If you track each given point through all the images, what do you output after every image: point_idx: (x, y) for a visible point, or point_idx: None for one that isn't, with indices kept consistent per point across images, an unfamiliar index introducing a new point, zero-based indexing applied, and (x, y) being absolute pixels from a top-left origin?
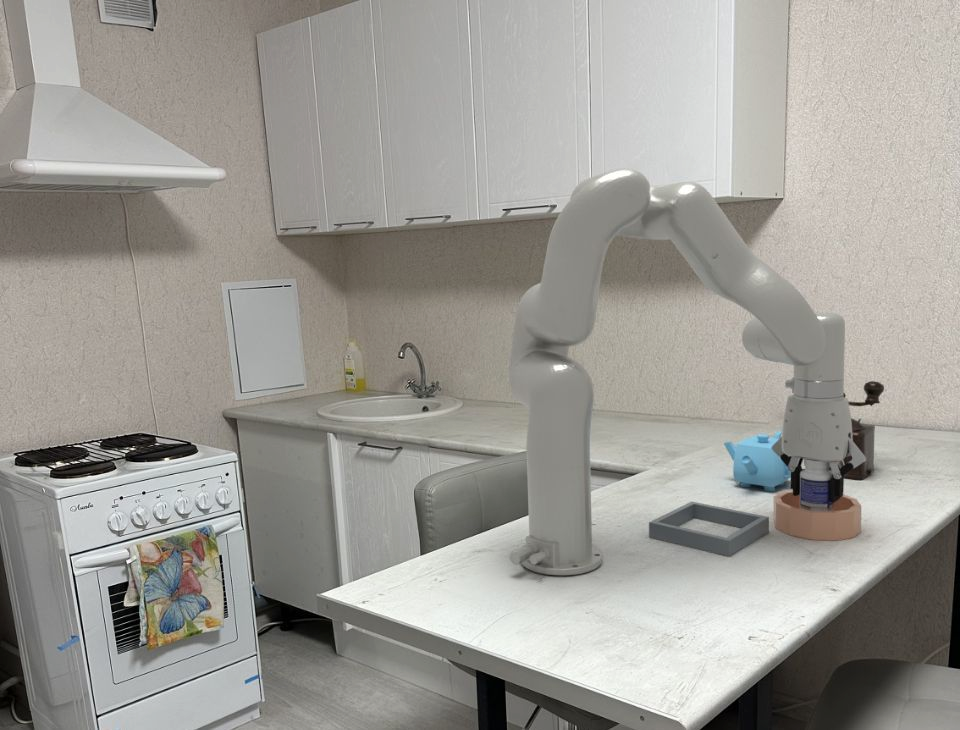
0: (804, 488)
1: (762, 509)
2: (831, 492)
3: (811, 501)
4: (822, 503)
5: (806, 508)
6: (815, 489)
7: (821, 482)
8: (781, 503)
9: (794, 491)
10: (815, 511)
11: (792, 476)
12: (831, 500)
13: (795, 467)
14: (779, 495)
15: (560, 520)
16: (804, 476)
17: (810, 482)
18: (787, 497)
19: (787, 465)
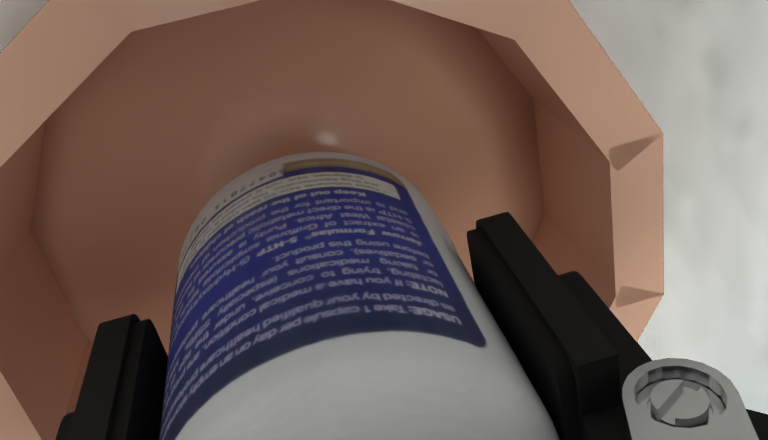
0: (384, 258)
1: (723, 210)
2: (103, 375)
3: (278, 205)
4: (193, 257)
5: (321, 162)
6: (246, 294)
7: (193, 398)
8: (504, 4)
9: (502, 231)
10: (103, 46)
11: (616, 348)
12: (117, 321)
13: (632, 430)
14: (635, 196)
15: None
16: (424, 352)
17: (316, 322)
18: (596, 277)
19: (765, 424)
